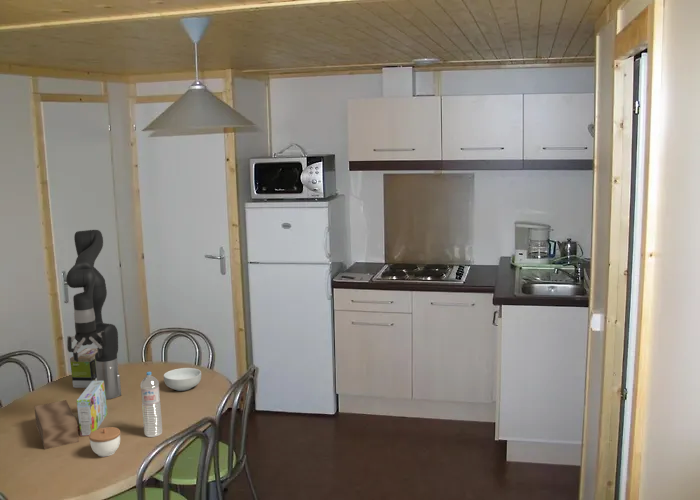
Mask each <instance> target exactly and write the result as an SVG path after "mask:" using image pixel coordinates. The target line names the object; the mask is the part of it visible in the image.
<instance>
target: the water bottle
mask: <svg viewBox="0 0 700 500" xmlns="http://www.w3.org/2000/svg"><path fill="white" fill-rule="evenodd" d="M139 385H140V393H141V408H142V422H143V432H144V436H146V437H147V438H155V437H159V436H160V435H162V433H163V422H162V421H163V420H162V419H163V418H162V407H161V399H160V397H161V396H160V381H159V380H158V379H157V377H155V376H153V374H152V371H147V372H146V376H145V377H144V378H143V379H142V380H141V381H140V384H139Z"/></svg>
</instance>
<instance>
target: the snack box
mask: <svg viewBox="0 0 700 500" xmlns="http://www.w3.org/2000/svg"><path fill="white" fill-rule="evenodd" d="M76 407H77V416H78V417H77V418H78V427H79V436H80V437H87V436H88V437H89V435H90V433H91V432H93V431H95V430H97V429H99V428H100V426H101V425H102V423H103V421H104V420H105V418H106V417H107V415H108V405H107V399H106V396H105V386H104V381H92V382H91V383H90V384H89V386H88V387H87V388H84V391H83V392H82V393H81V394H80V396H79V397H78V398H77V399H76Z"/></svg>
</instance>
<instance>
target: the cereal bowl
mask: <svg viewBox="0 0 700 500" xmlns="http://www.w3.org/2000/svg"><path fill="white" fill-rule="evenodd" d="M201 380H202V371H201V370H200V369H198V368H194V367H180V368H176V369H171V370H169V371H166V372H165V373H164V374H163V383H164V384H165V385H166V387H168V388H170V389H173V390H175V391H177V392H184V391H189V390H191V389H192V388H194V387H195V386H197V385H198V384H200V382H201Z"/></svg>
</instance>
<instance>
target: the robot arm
mask: <svg viewBox="0 0 700 500" xmlns="http://www.w3.org/2000/svg"><path fill="white" fill-rule="evenodd" d="M73 237H74V246H75V249H76V250H75V251H76V255H77V257H76V259H75V263H74V264H73V266H72V267H70V269H69V270H68V272H67V273H66V277H65V282H66V285H67V286H68V287H70V288H72V289H79V288H80V289H81V288H82V289H83V291H81V292H79V293H76V294H74V295H73V297H72V299H73V301H72V302H73V311H74V313H73V320H74V329H75V334H74V335H67V338H66V339H67V341H66V343H67V352H68V353H72V355H73V356H72V357H73V358H74V360H75V361H76V362H78V353H79V352H78V351H79V349H81V346H83V347H84V346H88V345H89V346H90V345H92V344H94V345H95V346H96V347H97V349H98V352H97V353H96V354H95V362H96V374H97V381H104V386H105V396H106V400H110V399H115V398H118V397H120V396H122V387H121V375H120V373H119V364H118V353H119V333H118V329H117V327H116V325H115V324H113V323H105V322H104V321H103V317H102V316H103V315H102V310H103V307H104V305H105V302H106V298H107V295H108V291H107V286H106V285H107V284H106V280H105V278H104V275H102V273H101V272H100V271H99V270H98V269H97V268H96V267H95V262H96V259H97V258H98V257H99V255H100V253H101V252H102V249H103V248H104V247H103V246H104V236H103V233H102V232H101V230H99V229H88V230H87V229H86V230H78V231H76V232H75V233H74V236H73ZM74 340H76V343H75V345H74V346H72V343H73V342H74Z"/></svg>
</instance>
